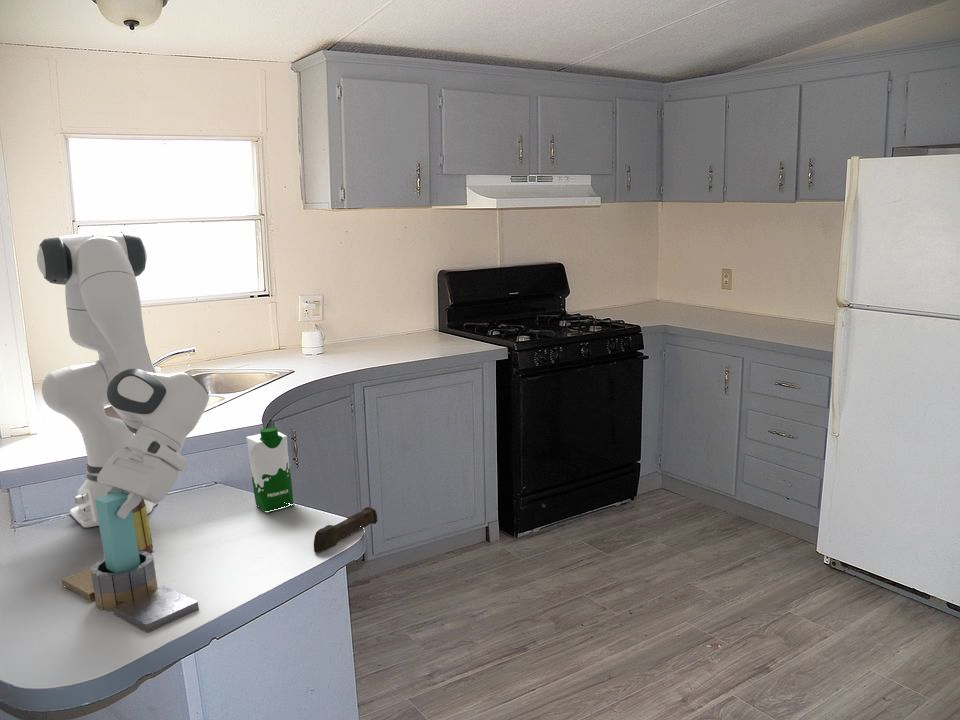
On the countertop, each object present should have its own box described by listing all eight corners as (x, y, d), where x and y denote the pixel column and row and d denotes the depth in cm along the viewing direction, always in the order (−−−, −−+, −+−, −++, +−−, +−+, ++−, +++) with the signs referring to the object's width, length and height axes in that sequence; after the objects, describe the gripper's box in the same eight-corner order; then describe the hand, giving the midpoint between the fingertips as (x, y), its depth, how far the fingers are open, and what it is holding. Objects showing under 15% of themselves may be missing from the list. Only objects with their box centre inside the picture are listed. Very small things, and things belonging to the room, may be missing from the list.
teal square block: (106, 568, 155) (94, 498, 152) (128, 560, 158) (117, 491, 155) (117, 574, 152) (106, 502, 149) (140, 565, 155) (129, 495, 153)
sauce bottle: (141, 545, 182) (128, 460, 178) (159, 549, 178) (146, 462, 175) (115, 556, 176) (101, 469, 172) (133, 561, 173) (119, 472, 169)
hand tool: (365, 521, 187) (363, 502, 186) (378, 524, 185) (376, 504, 184) (305, 553, 172) (303, 532, 171) (319, 556, 170) (316, 535, 169)
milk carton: (264, 515, 195) (254, 435, 191) (251, 506, 202) (241, 428, 198) (298, 506, 200) (289, 427, 196) (284, 497, 207) (275, 421, 203)
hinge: (60, 586, 163) (54, 554, 161) (113, 566, 171) (108, 535, 170) (145, 633, 141) (139, 596, 140) (200, 608, 149) (195, 572, 148)
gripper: (114, 435, 163) (72, 497, 157) (167, 448, 150) (124, 516, 144) (138, 451, 167) (99, 511, 161) (192, 465, 154) (151, 531, 148)
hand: (111, 513), depth 152 cm, fingers closed on teal square block, 4 cm apart
